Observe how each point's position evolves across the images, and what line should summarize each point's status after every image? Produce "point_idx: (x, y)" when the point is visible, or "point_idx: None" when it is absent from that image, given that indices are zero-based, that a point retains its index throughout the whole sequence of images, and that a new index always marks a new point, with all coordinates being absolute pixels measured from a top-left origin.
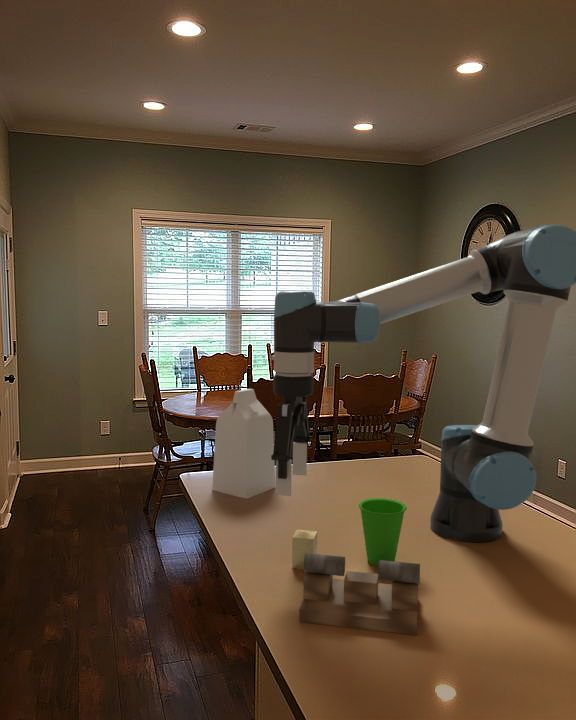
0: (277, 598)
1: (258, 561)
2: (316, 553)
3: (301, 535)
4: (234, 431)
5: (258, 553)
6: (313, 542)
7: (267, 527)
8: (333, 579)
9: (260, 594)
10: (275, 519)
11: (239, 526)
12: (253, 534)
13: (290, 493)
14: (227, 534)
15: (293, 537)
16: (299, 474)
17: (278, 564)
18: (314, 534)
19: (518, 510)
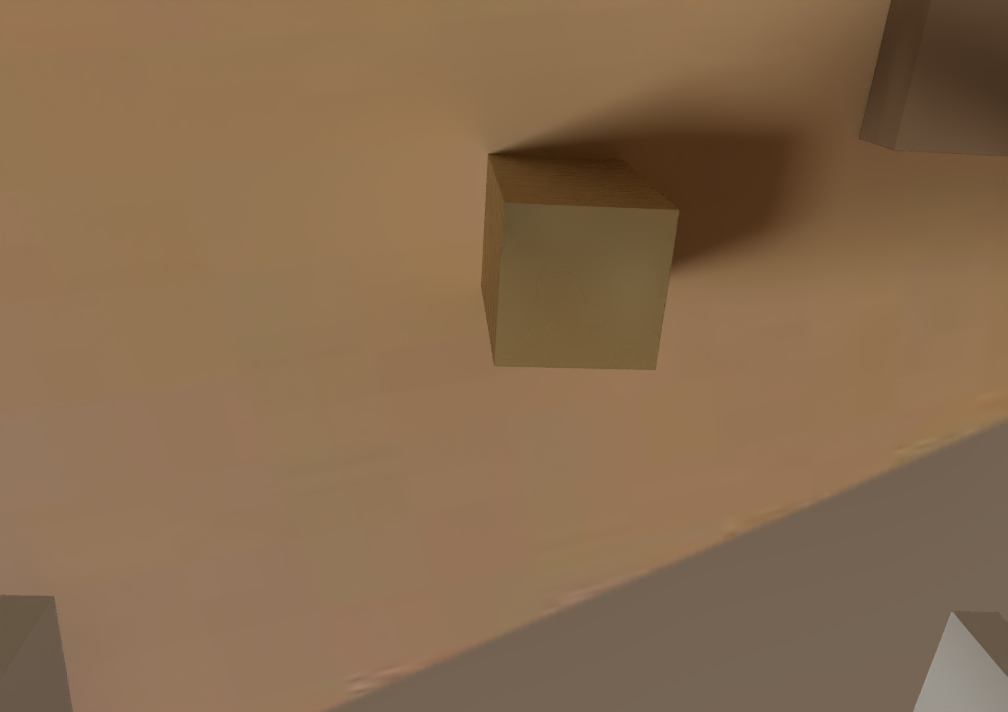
0: (975, 302)
1: (543, 475)
2: (509, 167)
3: (615, 312)
4: None
5: (436, 498)
6: (671, 204)
7: (15, 535)
8: (944, 2)
9: (927, 387)
10: None
11: (69, 672)
12: (165, 580)
13: (1001, 632)
14: (214, 694)
15: (656, 362)
16: (59, 675)
17: (567, 370)
18: (579, 216)
19: None
